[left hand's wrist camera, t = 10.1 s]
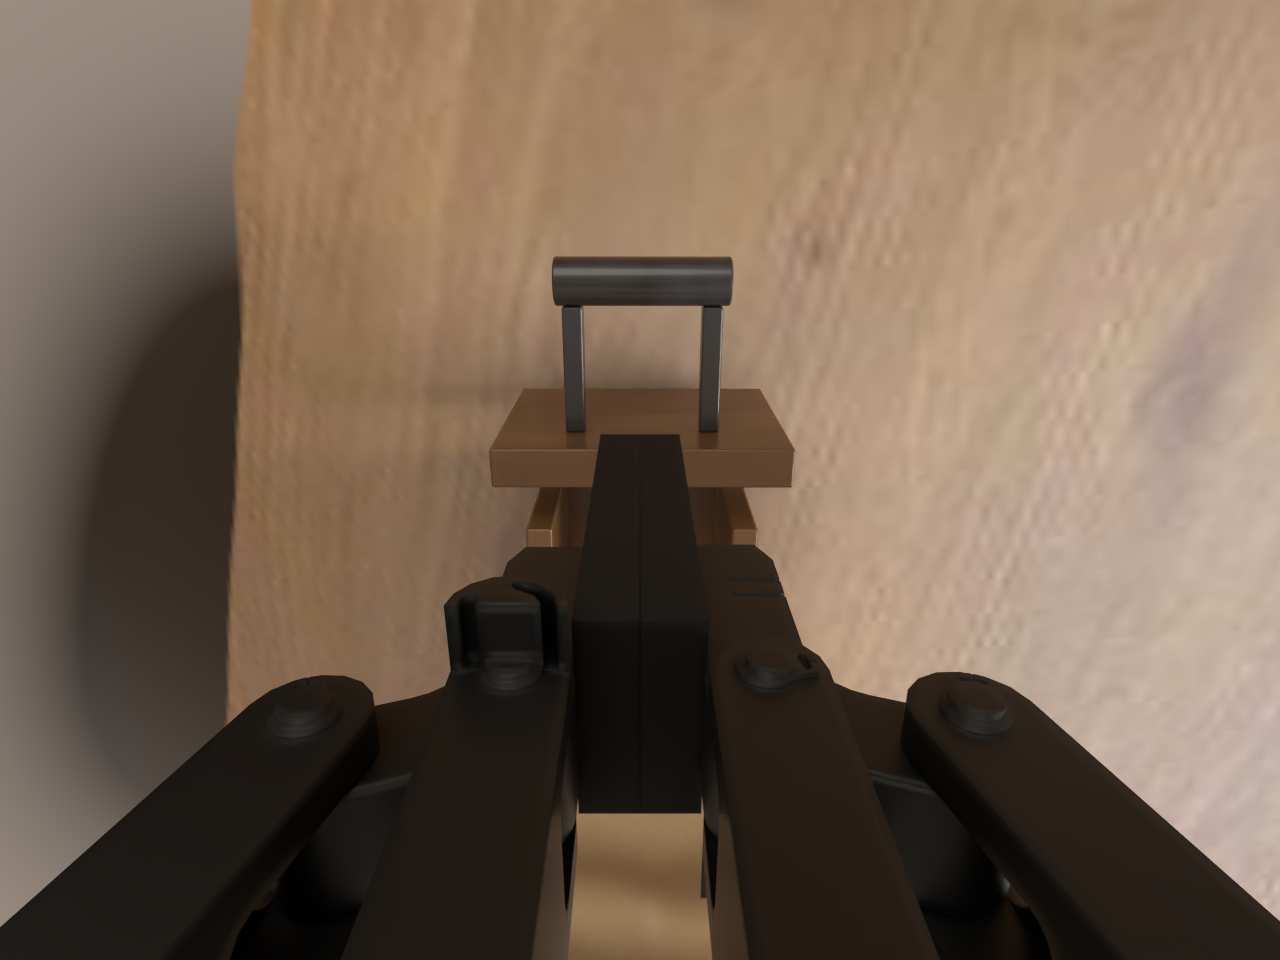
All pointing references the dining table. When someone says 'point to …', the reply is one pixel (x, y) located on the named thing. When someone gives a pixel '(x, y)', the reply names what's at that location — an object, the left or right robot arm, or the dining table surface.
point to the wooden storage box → (639, 888)
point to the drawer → (642, 409)
